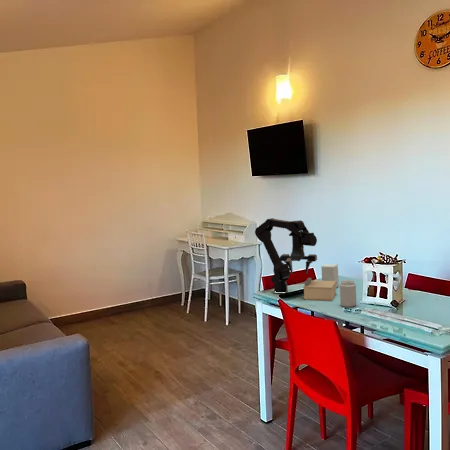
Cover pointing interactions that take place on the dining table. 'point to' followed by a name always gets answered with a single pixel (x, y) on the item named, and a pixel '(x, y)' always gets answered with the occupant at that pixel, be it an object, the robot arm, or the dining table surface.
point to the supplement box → (330, 273)
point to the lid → (319, 284)
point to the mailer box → (319, 294)
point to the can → (348, 293)
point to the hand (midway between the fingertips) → (299, 273)
